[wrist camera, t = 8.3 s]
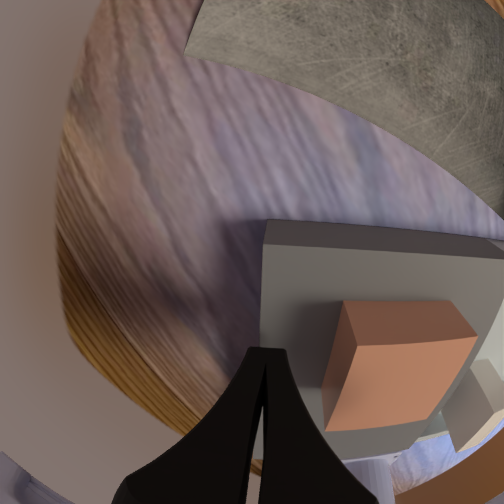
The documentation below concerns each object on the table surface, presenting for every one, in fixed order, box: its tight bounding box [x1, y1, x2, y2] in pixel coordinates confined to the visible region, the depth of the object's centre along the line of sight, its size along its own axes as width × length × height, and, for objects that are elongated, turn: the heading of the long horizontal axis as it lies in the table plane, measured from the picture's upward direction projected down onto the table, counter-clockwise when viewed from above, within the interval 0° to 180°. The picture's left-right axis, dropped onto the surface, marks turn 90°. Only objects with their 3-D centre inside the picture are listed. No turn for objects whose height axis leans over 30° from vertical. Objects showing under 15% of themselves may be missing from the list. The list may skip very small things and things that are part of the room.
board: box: [253, 219, 504, 459], centre depth 13 cm, size 16×12×3 cm
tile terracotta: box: [321, 301, 478, 431], centre depth 9 cm, size 5×5×2 cm
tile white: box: [441, 359, 504, 453], centre depth 12 cm, size 5×5×2 cm
